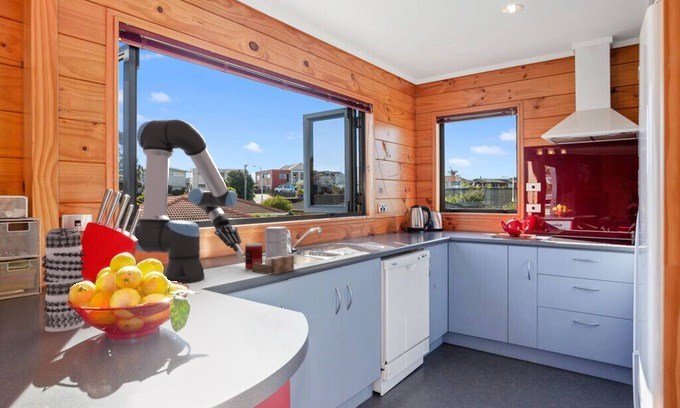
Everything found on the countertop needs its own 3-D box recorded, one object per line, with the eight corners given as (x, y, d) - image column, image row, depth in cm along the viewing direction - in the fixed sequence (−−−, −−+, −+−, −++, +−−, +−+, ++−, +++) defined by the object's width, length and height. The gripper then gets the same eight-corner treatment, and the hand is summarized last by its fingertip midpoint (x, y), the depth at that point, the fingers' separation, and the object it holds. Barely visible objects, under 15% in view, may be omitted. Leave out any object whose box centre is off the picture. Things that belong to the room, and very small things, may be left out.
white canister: (288, 257, 219) (287, 226, 219) (282, 260, 210) (282, 227, 209) (271, 257, 221) (270, 226, 220) (264, 260, 212) (264, 227, 211)
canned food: (264, 266, 191) (264, 243, 191) (259, 269, 183) (259, 245, 183) (248, 266, 192) (248, 243, 192) (243, 269, 184) (242, 245, 184)
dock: (274, 274, 172) (273, 259, 171) (252, 271, 179) (252, 256, 179) (293, 270, 182) (293, 255, 182) (272, 267, 189) (272, 253, 189)
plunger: (268, 272, 176) (268, 258, 176) (264, 271, 177) (264, 258, 177) (283, 268, 183) (282, 256, 183) (279, 268, 184) (279, 255, 184)
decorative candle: (94, 321, 108) (93, 227, 108) (69, 332, 99) (67, 230, 98) (61, 320, 109) (60, 227, 108) (33, 332, 99) (31, 230, 99)
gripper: (226, 223, 209) (248, 259, 199) (204, 225, 198) (227, 262, 189) (232, 213, 206) (256, 249, 196) (211, 214, 195) (234, 252, 186)
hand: (241, 255), depth 193 cm, fingers closed
